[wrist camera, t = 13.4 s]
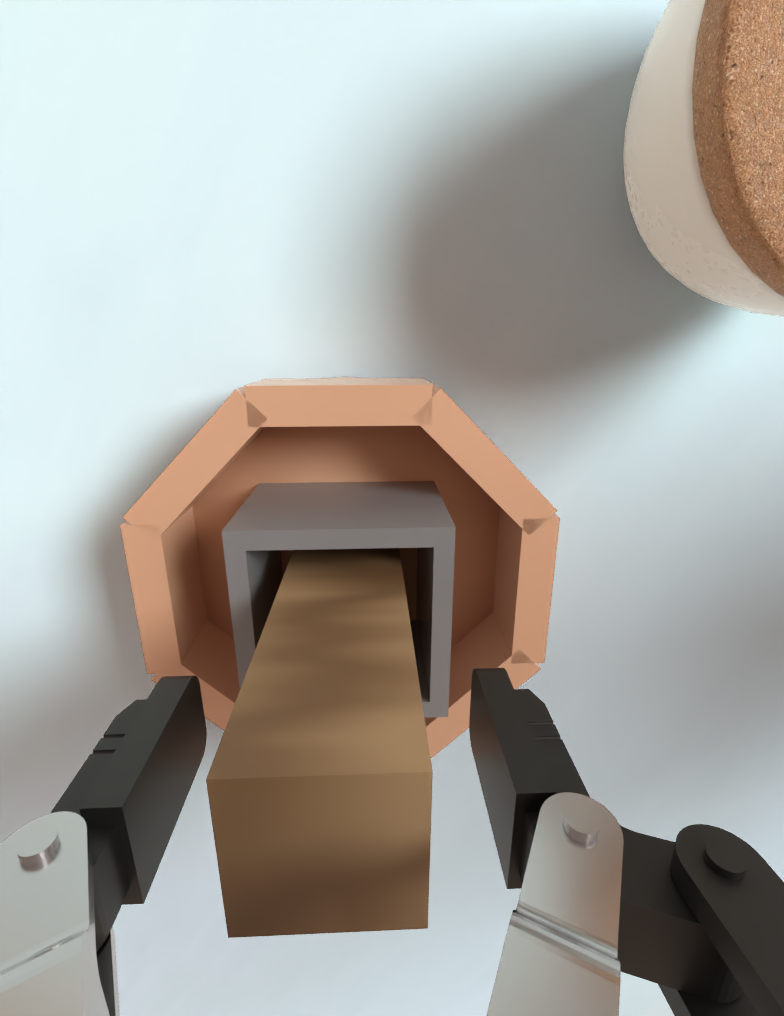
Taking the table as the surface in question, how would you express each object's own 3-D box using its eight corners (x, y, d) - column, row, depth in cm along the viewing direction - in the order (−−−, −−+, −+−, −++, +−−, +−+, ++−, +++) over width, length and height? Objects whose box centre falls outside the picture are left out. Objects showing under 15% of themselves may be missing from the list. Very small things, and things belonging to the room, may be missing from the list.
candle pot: (533, 375, 19) (603, 389, 13) (507, 689, 23) (551, 802, 17) (151, 377, 18) (53, 393, 13) (199, 698, 23) (141, 817, 17)
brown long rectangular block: (395, 521, 19) (432, 771, 8) (394, 603, 20) (427, 928, 9) (303, 522, 19) (206, 780, 8) (307, 605, 20) (228, 937, 9)
